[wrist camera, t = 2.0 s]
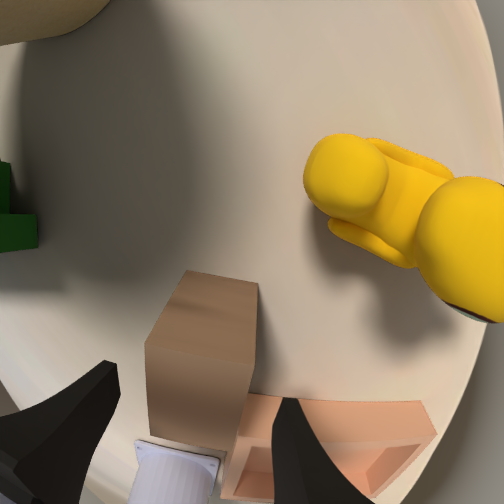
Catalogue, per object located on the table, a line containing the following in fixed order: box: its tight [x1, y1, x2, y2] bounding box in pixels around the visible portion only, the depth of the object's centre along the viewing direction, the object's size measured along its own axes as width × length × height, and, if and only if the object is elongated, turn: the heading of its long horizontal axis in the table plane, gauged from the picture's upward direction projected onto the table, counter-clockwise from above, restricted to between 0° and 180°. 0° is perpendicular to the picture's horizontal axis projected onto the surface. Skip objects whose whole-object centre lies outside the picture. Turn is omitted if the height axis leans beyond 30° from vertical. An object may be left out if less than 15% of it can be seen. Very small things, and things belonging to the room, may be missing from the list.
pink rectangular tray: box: [220, 393, 437, 503], centre depth 19 cm, size 11×15×4 cm
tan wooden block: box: [145, 270, 258, 452], centre depth 14 cm, size 6×4×7 cm, turn 170°
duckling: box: [303, 134, 504, 323], centre depth 10 cm, size 11×5×10 cm, turn 69°
